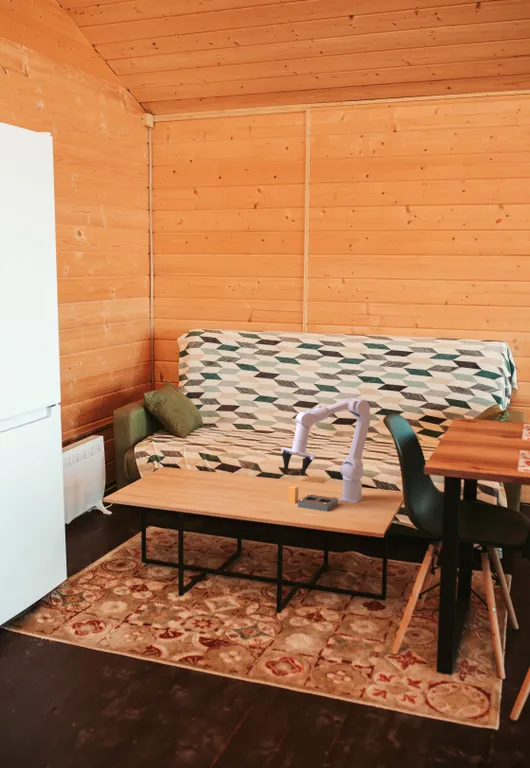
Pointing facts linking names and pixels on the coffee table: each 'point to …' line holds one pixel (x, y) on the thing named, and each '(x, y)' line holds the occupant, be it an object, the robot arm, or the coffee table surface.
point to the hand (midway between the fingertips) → (293, 472)
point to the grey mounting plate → (318, 502)
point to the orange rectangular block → (293, 494)
